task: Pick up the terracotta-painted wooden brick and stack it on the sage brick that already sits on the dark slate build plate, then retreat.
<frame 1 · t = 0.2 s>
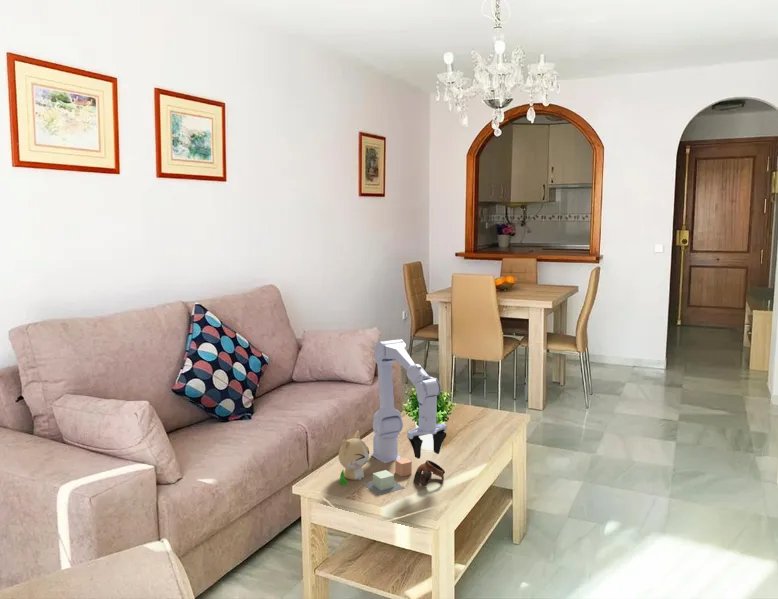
hand: (427, 455, 212), 10 cm above the table, fingers open, 7 cm apart
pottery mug: (427, 484, 214), on the table
brick a: (383, 485, 211), resting on build plate
build plate: (383, 487, 211), on the table
kitten: (353, 479, 218), on the table
brick b: (403, 474, 221), on the table
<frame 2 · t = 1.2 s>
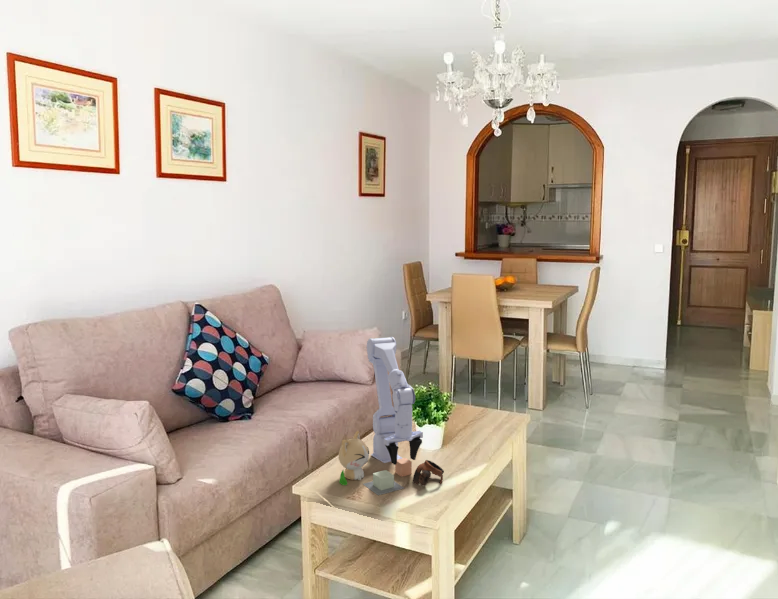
hand: (403, 461, 220), 5 cm above the table, fingers open, 7 cm apart
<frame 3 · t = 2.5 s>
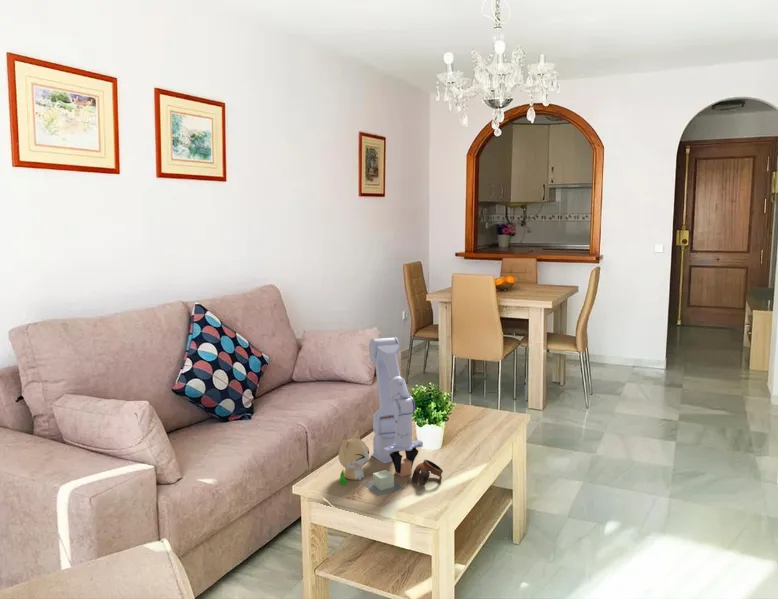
hand: (403, 470, 221), 1 cm above the table, fingers closed on brick b, 4 cm apart
brick b: (403, 474, 221), on the table, touching gripper
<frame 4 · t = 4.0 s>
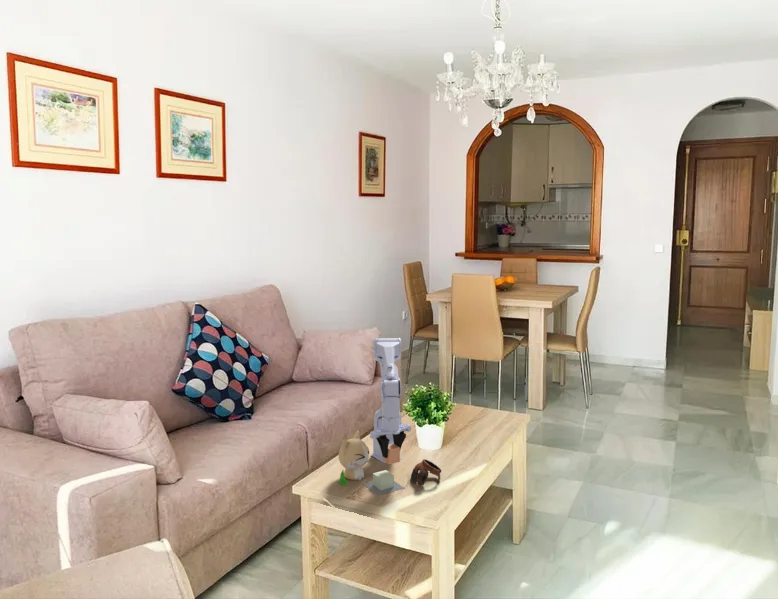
hand: (390, 455, 213), 10 cm above the table, fingers closed on brick b, 4 cm apart
brick b: (391, 461, 213), point 8 cm above the table, touching gripper
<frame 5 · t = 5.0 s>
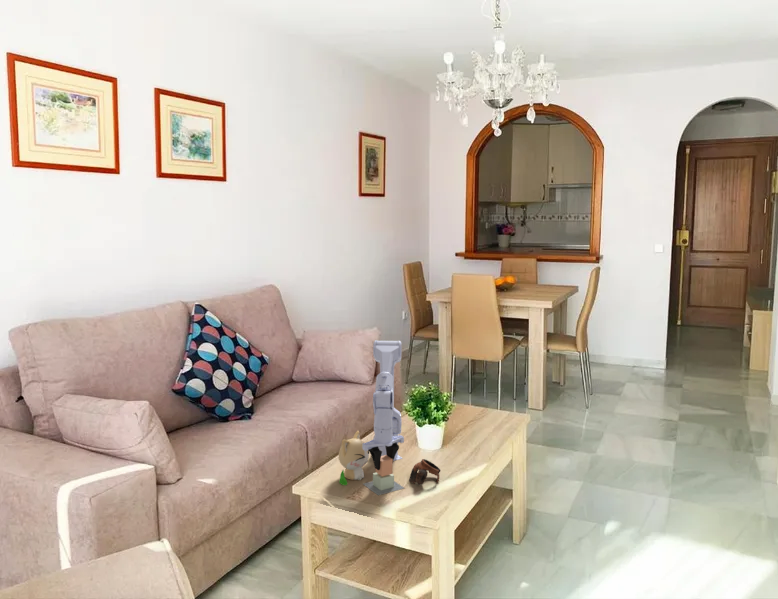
hand: (383, 467, 210), 7 cm above the table, fingers closed on brick b, 4 cm apart
brick b: (383, 472, 210), point 5 cm above the table, touching gripper
when the fingers open (7 cm above the table, at t = 5.7 s): brick b stays where it is, resting on brick a.
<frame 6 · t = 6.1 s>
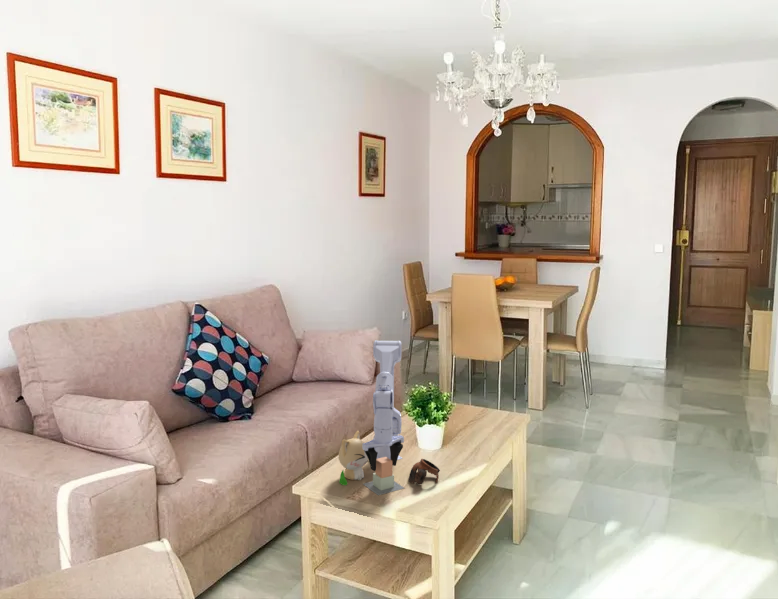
hand: (383, 467, 210), 7 cm above the table, fingers open, 7 cm apart
brick a: (383, 485, 211), resting on build plate, touching brick b
brick b: (383, 474, 210), point 4 cm above the table, touching brick a
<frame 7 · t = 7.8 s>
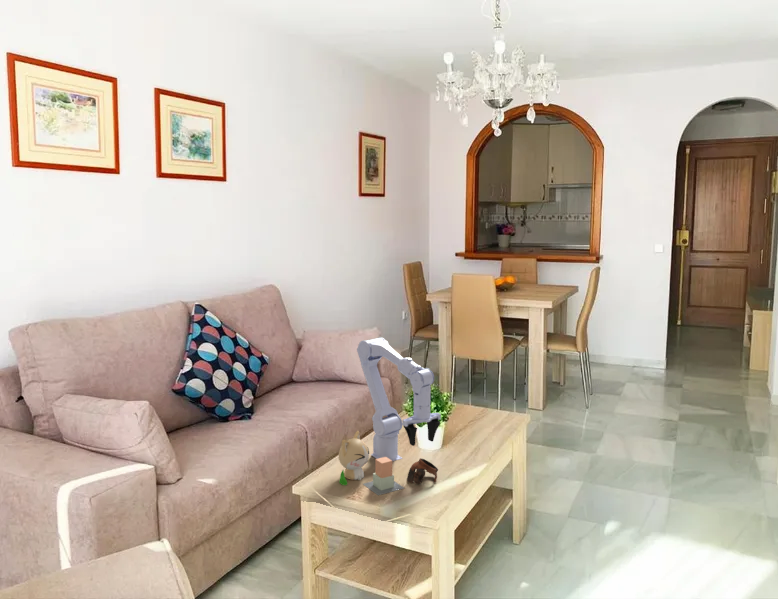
hand: (421, 442, 222), 10 cm above the table, fingers open, 7 cm apart
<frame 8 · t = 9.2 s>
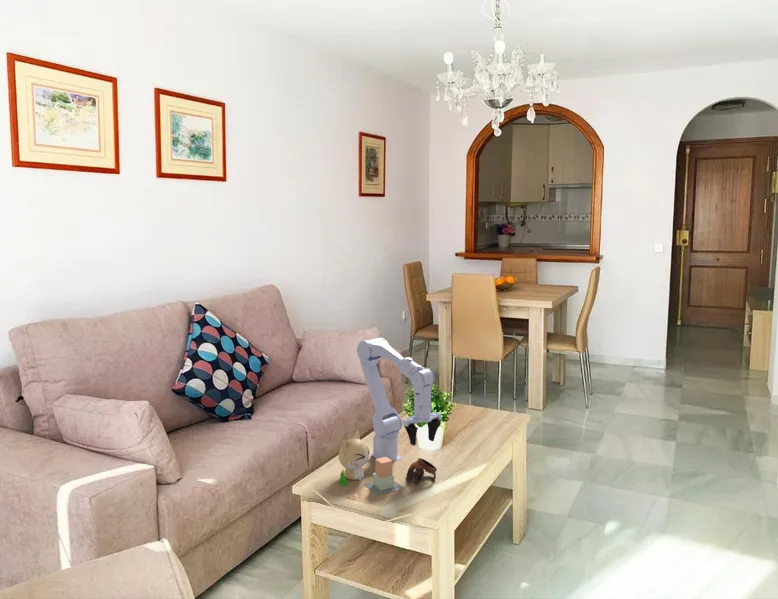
hand: (422, 442, 222), 10 cm above the table, fingers open, 7 cm apart
at the end: brick b 0.3 cm off-centre on the brick a, point 4.0 cm above the brick a's base; brick b tilted 0°; brick a moved 0.0 cm from its start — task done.
